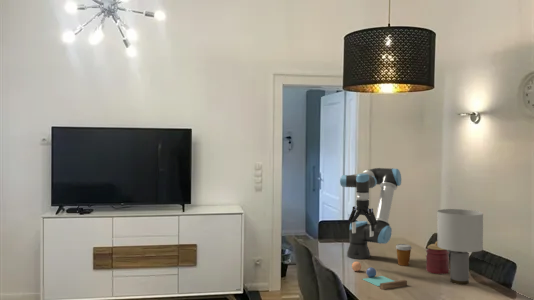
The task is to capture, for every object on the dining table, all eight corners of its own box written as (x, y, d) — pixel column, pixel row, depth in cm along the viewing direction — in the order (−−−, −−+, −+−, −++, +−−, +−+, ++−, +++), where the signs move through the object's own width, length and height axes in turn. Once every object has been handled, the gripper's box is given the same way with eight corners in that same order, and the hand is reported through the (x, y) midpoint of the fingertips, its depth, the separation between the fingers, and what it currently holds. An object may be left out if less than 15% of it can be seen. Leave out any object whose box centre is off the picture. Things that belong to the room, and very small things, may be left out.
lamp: (427, 278, 253) (428, 210, 253) (458, 274, 262) (459, 208, 262) (460, 291, 232) (460, 216, 232) (492, 285, 241) (493, 213, 241)
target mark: (361, 279, 252) (361, 278, 252) (382, 276, 258) (382, 275, 258) (377, 286, 240) (377, 285, 240) (399, 283, 245) (399, 282, 245)
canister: (448, 269, 272) (448, 240, 272) (449, 275, 260) (450, 244, 260) (425, 267, 276) (425, 238, 276) (425, 273, 264) (425, 242, 264)
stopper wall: (379, 288, 236) (380, 283, 236) (404, 284, 243) (404, 279, 243) (382, 289, 235) (382, 284, 235) (406, 285, 241) (407, 280, 241)
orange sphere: (349, 270, 270) (350, 261, 270) (357, 269, 272) (357, 260, 272) (355, 272, 265) (355, 263, 265) (363, 271, 267) (363, 262, 267)
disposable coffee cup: (412, 267, 278) (412, 247, 277) (396, 266, 279) (396, 246, 279) (410, 263, 287) (410, 244, 287) (395, 262, 289) (395, 243, 289)
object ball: (364, 276, 257) (364, 266, 257) (372, 275, 260) (372, 265, 260) (370, 279, 252) (370, 269, 252) (378, 277, 255) (378, 268, 255)
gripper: (342, 198, 282) (342, 232, 282) (375, 202, 262) (375, 238, 263) (351, 197, 287) (351, 230, 287) (383, 201, 267) (383, 237, 267)
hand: (362, 234), depth 275 cm, fingers open, 13 cm apart
